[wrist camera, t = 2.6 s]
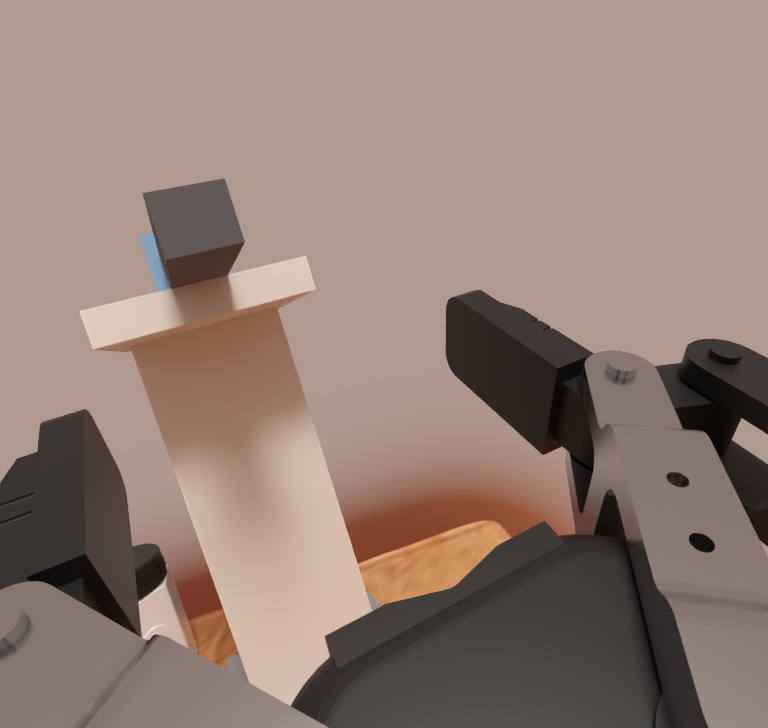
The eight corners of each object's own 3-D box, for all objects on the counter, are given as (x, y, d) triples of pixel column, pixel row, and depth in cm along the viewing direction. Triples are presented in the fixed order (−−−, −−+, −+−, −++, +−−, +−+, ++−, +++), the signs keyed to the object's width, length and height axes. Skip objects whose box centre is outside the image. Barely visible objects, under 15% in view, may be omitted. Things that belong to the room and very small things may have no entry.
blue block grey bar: (262, 238, 20) (230, 136, 20) (145, 264, 19) (108, 155, 18) (227, 292, 37) (209, 237, 36) (164, 308, 35) (145, 251, 35)
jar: (128, 736, 42) (77, 605, 40) (90, 706, 47) (44, 590, 45) (220, 658, 48) (179, 544, 47) (178, 640, 54) (140, 537, 52)
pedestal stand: (462, 723, 34) (321, 251, 30) (257, 858, 29) (56, 316, 25) (370, 601, 50) (272, 289, 46) (231, 674, 46) (108, 332, 42)
